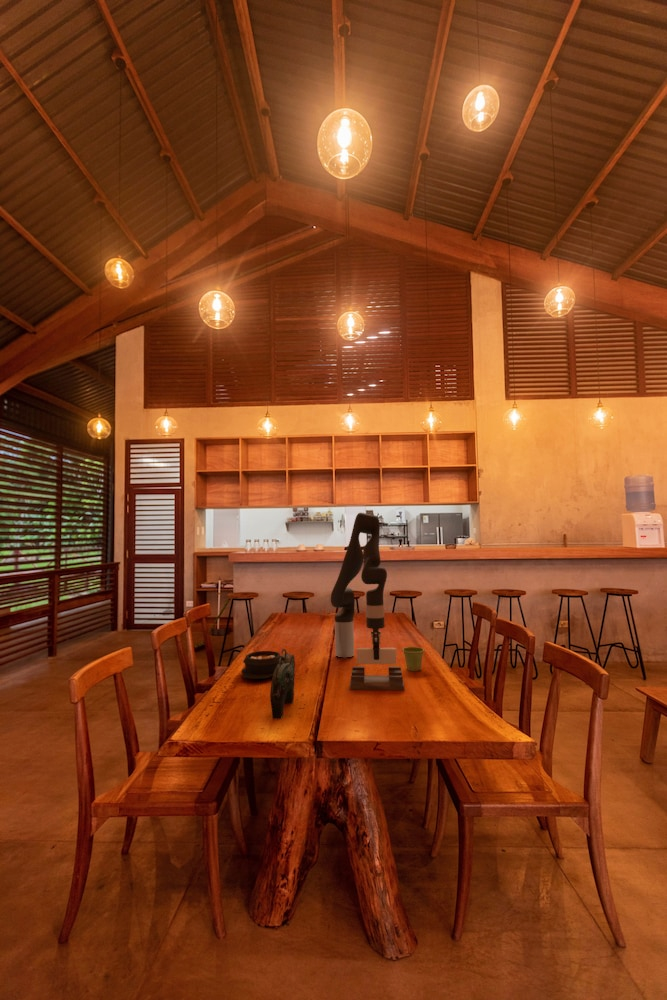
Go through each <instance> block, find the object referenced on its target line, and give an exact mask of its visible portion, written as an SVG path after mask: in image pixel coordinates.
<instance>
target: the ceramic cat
mask: <svg viewBox="0 0 667 1000" xmlns="http://www.w3.org/2000/svg"><path fill="white" fill-rule="evenodd" d="M295 668H296V660H295V655H294V654H289V653H288V652H287V650H286V649H285V648H282V649H281V655H280V660H279V664H278V665H277V667H276V669H275V670H274V673H273V676H272V679H271V685H270V693H269V698H270V708H271V713H272V714H271V716H272V719H275V718H277V719H278V718H279V720H281V719H282V718H281V717H283V716H282V715H284V707H285V704H292V703H293V701H294V698H295V696H294V695H295V693H294V692H295V690H294V689H295V678H296V677H295V676H296V673H295V671H296V670H295ZM284 702H285V703H284Z"/></svg>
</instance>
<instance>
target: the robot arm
mask: <svg viewBox="0 0 667 1000" xmlns="http://www.w3.org/2000/svg"><path fill="white" fill-rule="evenodd" d="M380 522H381V521H380V519H379V517H378V515H375V514H370V513H365V512H359V513H357V515H356V516H355V519H354V523H353V527H352V532H351V534H350V535H351V536H350V539H349V543H348V545H347V549H346V552H345V555H344V558H343V560H342V561H343V562H342V564H341V568H340V570H339V573H338V576H337V579H336V580H335V581H336V582H335V584H334V586H333V588H332V591H331V595H330V604H331V605H332V607H334V608H336V609H339V608H342V609H340V611H339V612H337V613H336V614H335V615H334V646H335V647H334V649H335V655H336V656H338V657H351V656H355V638H354V617H355V604H356V603H355V600H356V599H355V592H354V590H353V589H352V588H350V587H348V586H349V584H350V583H351V582H352V581H353V580H354V579H355V578H356V577H357V576H358V574H360V571H361V569H362V571H361V576H360V578H361V581H362V583H363V584H365V585H377V587H376V588H373V589H369V590H368V591H366V592H365V594H366V595H365V596H366V597H365V599H366V601H365V602H366V608H365V618H366V619H365V622H366V623H365V624H366V628H367V629H370V630H372V631H370V638H371V644H372V648H373V650H374V660H379V649H380V648H381V647H380V645H381V635H382V633H381V629H384V628H385V626H386V624H385V623H386V622H385V621H386V620H385V619H386V617H385V607H384V591H385V586H386V582H387V577H388V573H387V569H386V568H385V567H382V566H380V565H381V556H380V553H381V552H380V527H381V526H380ZM361 533H362V534H367V535H371V537H370V539H369V540H368V542H366V544H365V545H364V547H363V549H362V546H361V542H360V535H361ZM379 630H380V631H379ZM335 655H334V656H335ZM336 656H335V657H336Z"/></svg>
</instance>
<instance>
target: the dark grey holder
mask: <svg viewBox="0 0 667 1000" xmlns="http://www.w3.org/2000/svg"><path fill="white" fill-rule="evenodd" d="M351 668H352V670H351V675H350V682H349V690H350V691H405V684H404V677H403V673H402V672H403V671H402V667H401V666H388V674H387V675H386V674H385V675H384V674H383V675H382V674H379V675H378V674H377V675H376V674H365V672H366V671H365V666H352V667H351Z"/></svg>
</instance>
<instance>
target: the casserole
mask: <svg viewBox="0 0 667 1000" xmlns="http://www.w3.org/2000/svg"><path fill="white" fill-rule="evenodd" d="M280 656H281V654H280V652H277V651H273V650H272V651H271V650H260V651H253V652H250V653H247V654H246V655H245V657H244V659H243V660H242V661H243V664H244V668H243V669H242V670H241V672H240V673H241V677H242V678H243V679H247V680H248V679H249V680H263V679H264V680H265V679H269V678H271V677H273V673H274V670H275V669H276V667H277V665H278V664H279V660H280Z"/></svg>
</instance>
